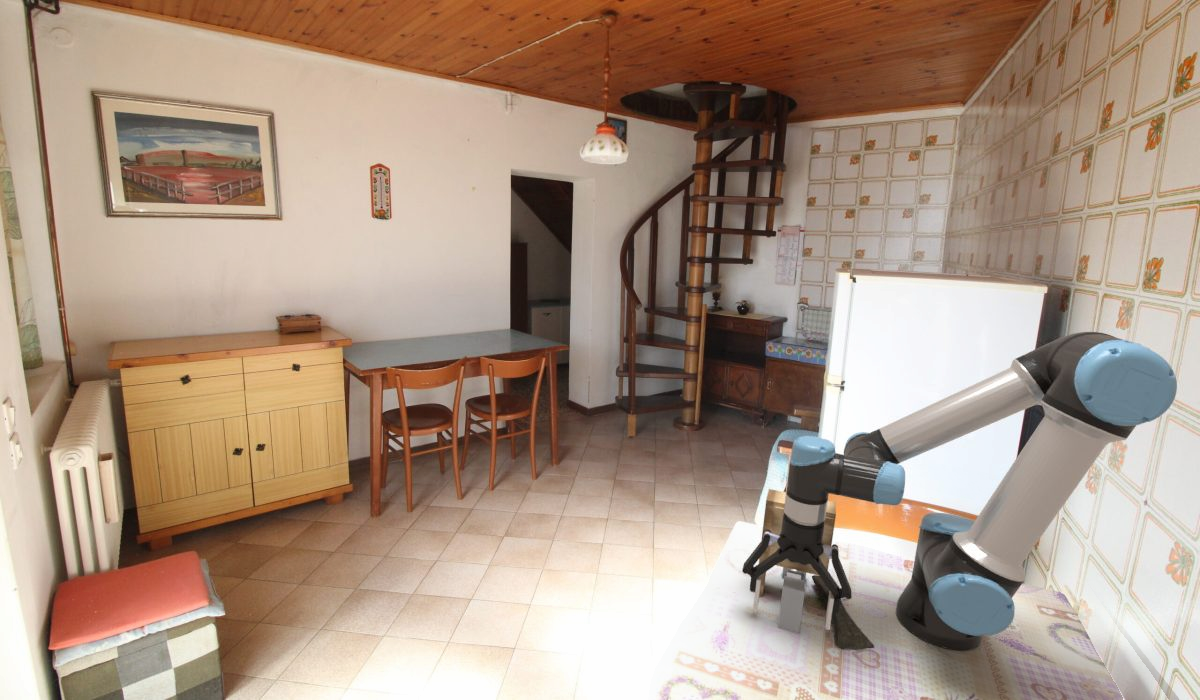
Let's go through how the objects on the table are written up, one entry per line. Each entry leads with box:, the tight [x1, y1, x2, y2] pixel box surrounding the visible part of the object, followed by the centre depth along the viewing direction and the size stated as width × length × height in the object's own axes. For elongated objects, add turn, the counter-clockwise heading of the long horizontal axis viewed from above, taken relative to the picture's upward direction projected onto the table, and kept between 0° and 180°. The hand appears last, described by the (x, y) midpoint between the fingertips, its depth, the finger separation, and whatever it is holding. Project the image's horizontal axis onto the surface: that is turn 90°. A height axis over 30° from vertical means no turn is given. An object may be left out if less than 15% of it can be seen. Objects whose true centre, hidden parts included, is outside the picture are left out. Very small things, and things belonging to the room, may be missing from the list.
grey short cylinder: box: [781, 567, 807, 582], centre depth 131 cm, size 5×5×3 cm
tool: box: [811, 574, 875, 651], centre depth 119 cm, size 21×8×3 cm, turn 2°
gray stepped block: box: [777, 572, 806, 634], centre depth 120 cm, size 4×17×9 cm, turn 159°
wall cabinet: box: [758, 488, 837, 598], centre depth 122 cm, size 14×7×22 cm, turn 69°
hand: (790, 615), depth 115 cm, fingers open, 13 cm apart
